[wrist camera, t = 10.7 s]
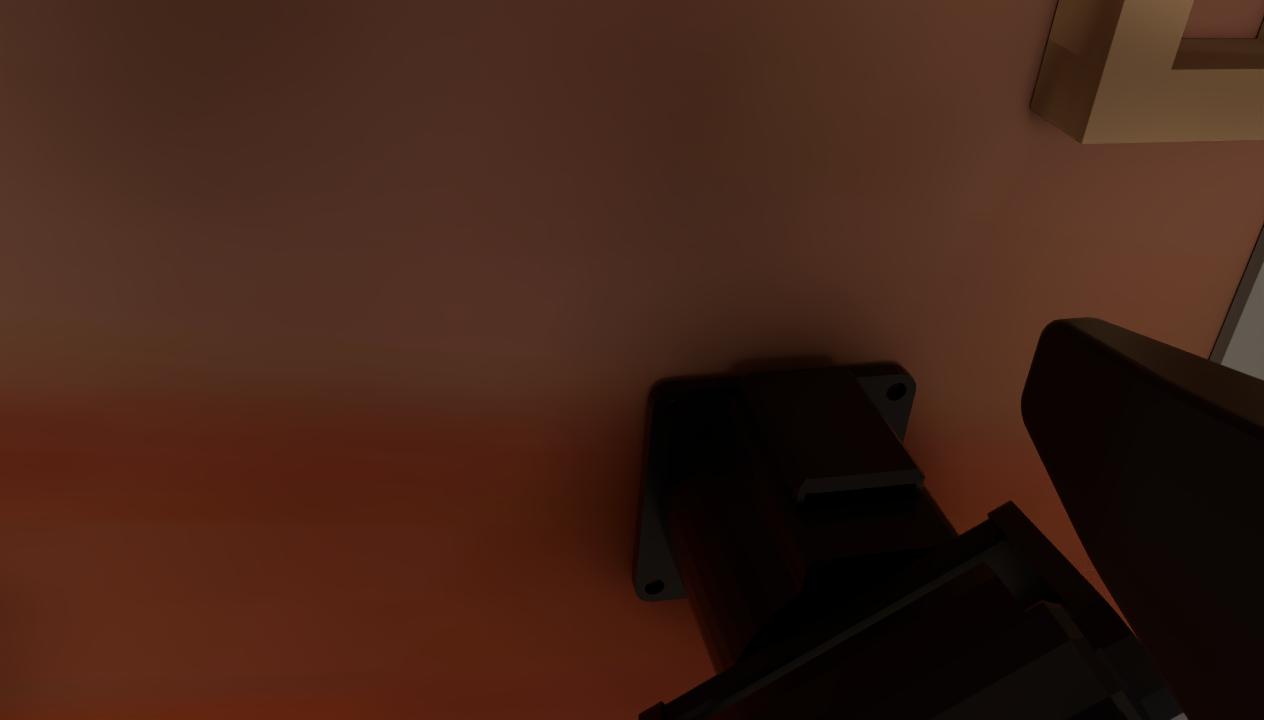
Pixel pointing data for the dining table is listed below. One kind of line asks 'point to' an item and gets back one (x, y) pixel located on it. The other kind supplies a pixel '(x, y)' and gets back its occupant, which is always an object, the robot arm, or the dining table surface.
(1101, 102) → the rack
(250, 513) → the dining table surface
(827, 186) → the dining table surface
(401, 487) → the dining table surface
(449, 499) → the dining table surface
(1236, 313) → the mat
